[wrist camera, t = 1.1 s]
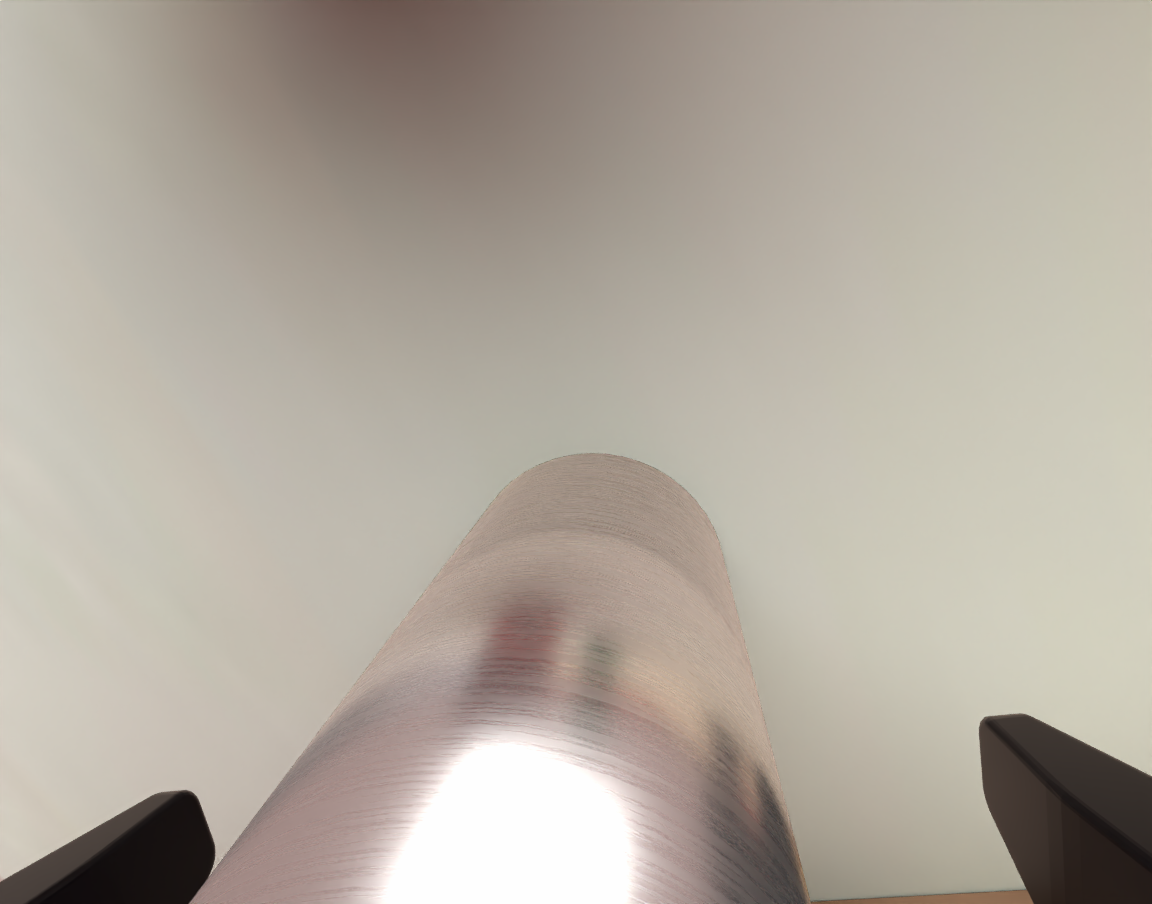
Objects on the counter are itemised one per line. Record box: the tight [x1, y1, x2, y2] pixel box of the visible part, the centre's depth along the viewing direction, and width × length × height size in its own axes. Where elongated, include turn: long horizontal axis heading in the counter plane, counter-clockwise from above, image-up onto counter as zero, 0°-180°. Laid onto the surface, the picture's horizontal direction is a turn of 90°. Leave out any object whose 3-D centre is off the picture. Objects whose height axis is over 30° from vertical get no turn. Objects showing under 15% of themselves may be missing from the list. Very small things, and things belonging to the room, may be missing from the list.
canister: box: [189, 453, 811, 904], centre depth 8 cm, size 5×5×10 cm
